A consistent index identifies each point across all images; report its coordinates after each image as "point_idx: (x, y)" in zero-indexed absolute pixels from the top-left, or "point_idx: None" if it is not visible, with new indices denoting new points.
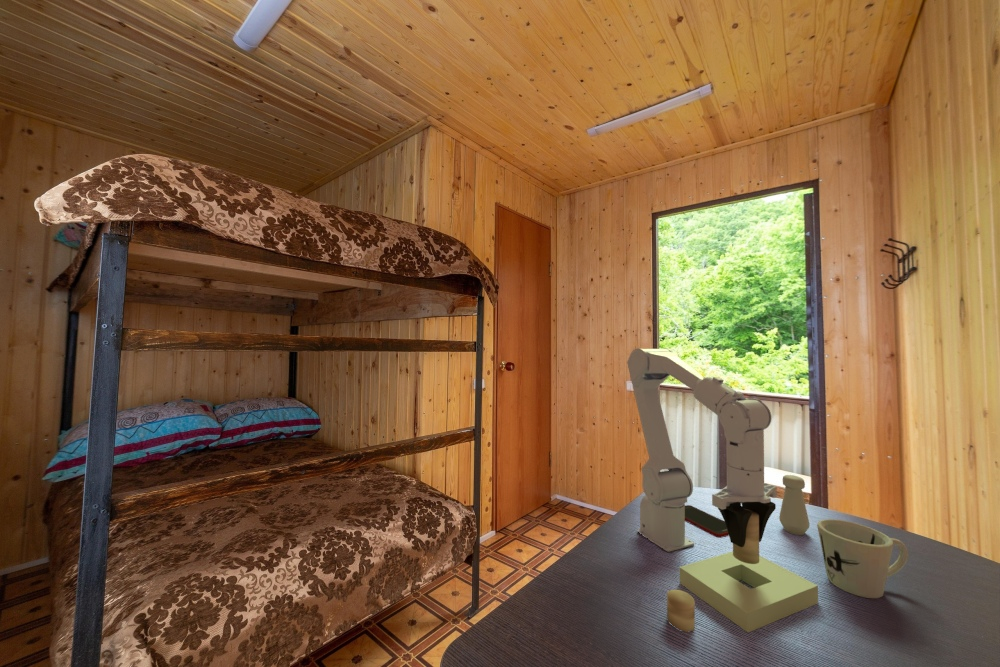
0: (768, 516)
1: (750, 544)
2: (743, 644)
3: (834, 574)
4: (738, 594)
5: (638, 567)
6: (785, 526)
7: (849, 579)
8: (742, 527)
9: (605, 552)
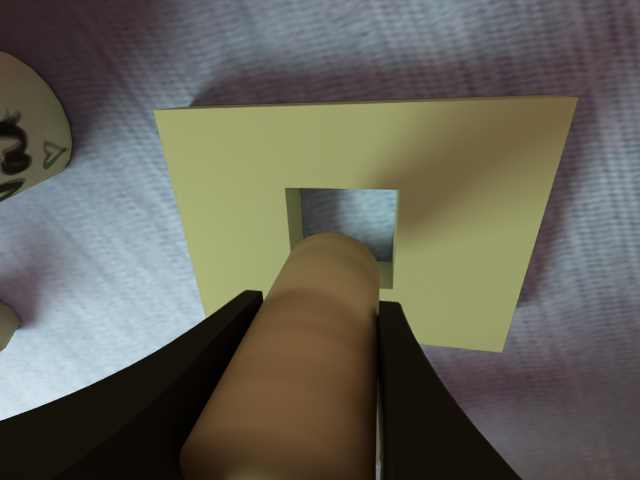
0: (112, 386)
1: (353, 291)
2: (624, 60)
3: (43, 142)
4: (478, 188)
5: (520, 395)
6: (8, 330)
7: (18, 97)
8: (450, 400)
9: (535, 458)
